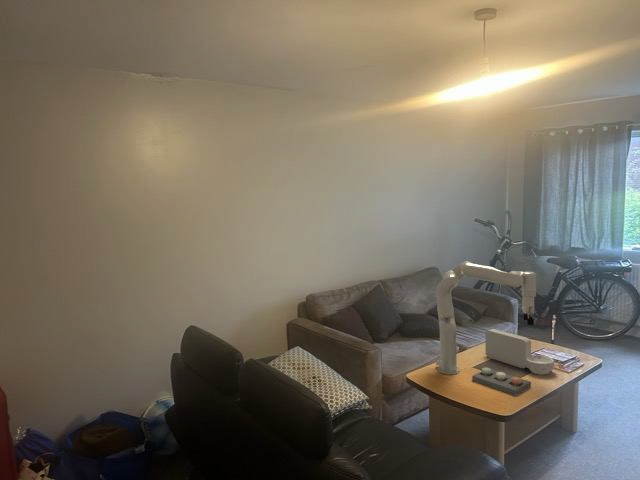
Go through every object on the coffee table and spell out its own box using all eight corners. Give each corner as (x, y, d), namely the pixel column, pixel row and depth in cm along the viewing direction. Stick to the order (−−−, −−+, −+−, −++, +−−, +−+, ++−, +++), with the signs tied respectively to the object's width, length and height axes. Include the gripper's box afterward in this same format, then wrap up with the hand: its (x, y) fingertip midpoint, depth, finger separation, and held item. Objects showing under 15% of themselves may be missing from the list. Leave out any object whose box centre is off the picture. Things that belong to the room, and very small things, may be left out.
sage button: (480, 373, 264) (480, 369, 263) (485, 370, 267) (485, 366, 266) (487, 375, 260) (487, 371, 259) (492, 373, 263) (492, 369, 262)
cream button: (494, 377, 256) (494, 373, 256) (499, 375, 259) (499, 371, 259) (502, 380, 252) (502, 376, 252) (507, 378, 255) (507, 373, 255)
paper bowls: (538, 365, 280) (538, 352, 279) (559, 373, 266) (560, 360, 265) (519, 369, 274) (519, 357, 273) (540, 379, 260) (540, 365, 259)
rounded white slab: (533, 366, 278) (533, 337, 276) (525, 369, 274) (526, 340, 272) (492, 353, 302) (492, 327, 300) (485, 356, 298) (485, 329, 296)
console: (472, 380, 262) (472, 375, 262) (488, 373, 271) (488, 368, 271) (515, 395, 241) (515, 390, 241) (530, 386, 251) (530, 381, 250)
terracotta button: (509, 382, 249) (509, 378, 249) (514, 380, 252) (514, 375, 252) (517, 385, 245) (518, 381, 245) (522, 383, 248) (522, 378, 248)
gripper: (518, 289, 271) (518, 318, 273) (524, 296, 255) (524, 326, 256) (532, 290, 270) (532, 318, 271) (539, 296, 253) (539, 327, 255)
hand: (528, 322), depth 264 cm, fingers open, 9 cm apart
